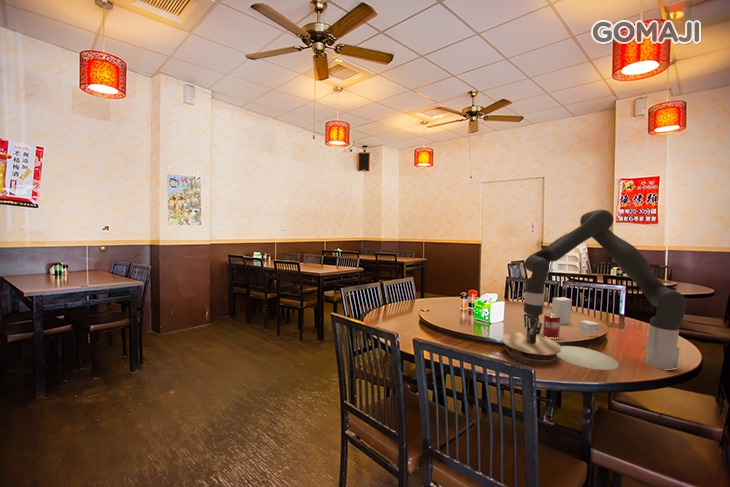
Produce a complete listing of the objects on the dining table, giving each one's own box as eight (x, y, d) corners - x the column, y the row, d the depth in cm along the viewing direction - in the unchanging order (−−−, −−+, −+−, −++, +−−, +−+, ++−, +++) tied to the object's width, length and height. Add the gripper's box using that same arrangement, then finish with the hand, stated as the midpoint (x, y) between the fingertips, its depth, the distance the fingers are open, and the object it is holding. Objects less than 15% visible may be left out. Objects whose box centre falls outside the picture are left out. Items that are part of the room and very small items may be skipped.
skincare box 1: (562, 321, 198) (564, 296, 197) (570, 324, 193) (572, 299, 191) (550, 321, 197) (552, 297, 195) (558, 325, 191) (560, 299, 189)
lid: (546, 335, 157) (546, 323, 156) (571, 356, 134) (573, 342, 134) (495, 332, 159) (496, 321, 158) (512, 353, 136) (513, 339, 136)
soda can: (561, 341, 166) (562, 318, 165) (545, 340, 167) (546, 316, 166) (555, 336, 173) (557, 313, 172) (540, 335, 174) (542, 312, 173)
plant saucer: (511, 344, 162) (512, 337, 161) (560, 356, 149) (561, 349, 148) (498, 358, 146) (498, 350, 145) (551, 373, 133) (551, 365, 132)
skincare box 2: (588, 338, 172) (589, 324, 171) (578, 333, 178) (579, 320, 177) (597, 337, 173) (599, 323, 172) (587, 333, 179) (589, 320, 178)
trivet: (596, 348, 158) (596, 347, 158) (632, 372, 134) (632, 371, 134) (543, 345, 160) (543, 344, 160) (569, 369, 136) (570, 367, 136)
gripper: (550, 307, 138) (547, 347, 139) (535, 298, 152) (533, 335, 153) (531, 306, 138) (528, 346, 140) (518, 297, 152) (516, 334, 154)
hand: (530, 340), depth 146 cm, fingers closed on lid, 3 cm apart
